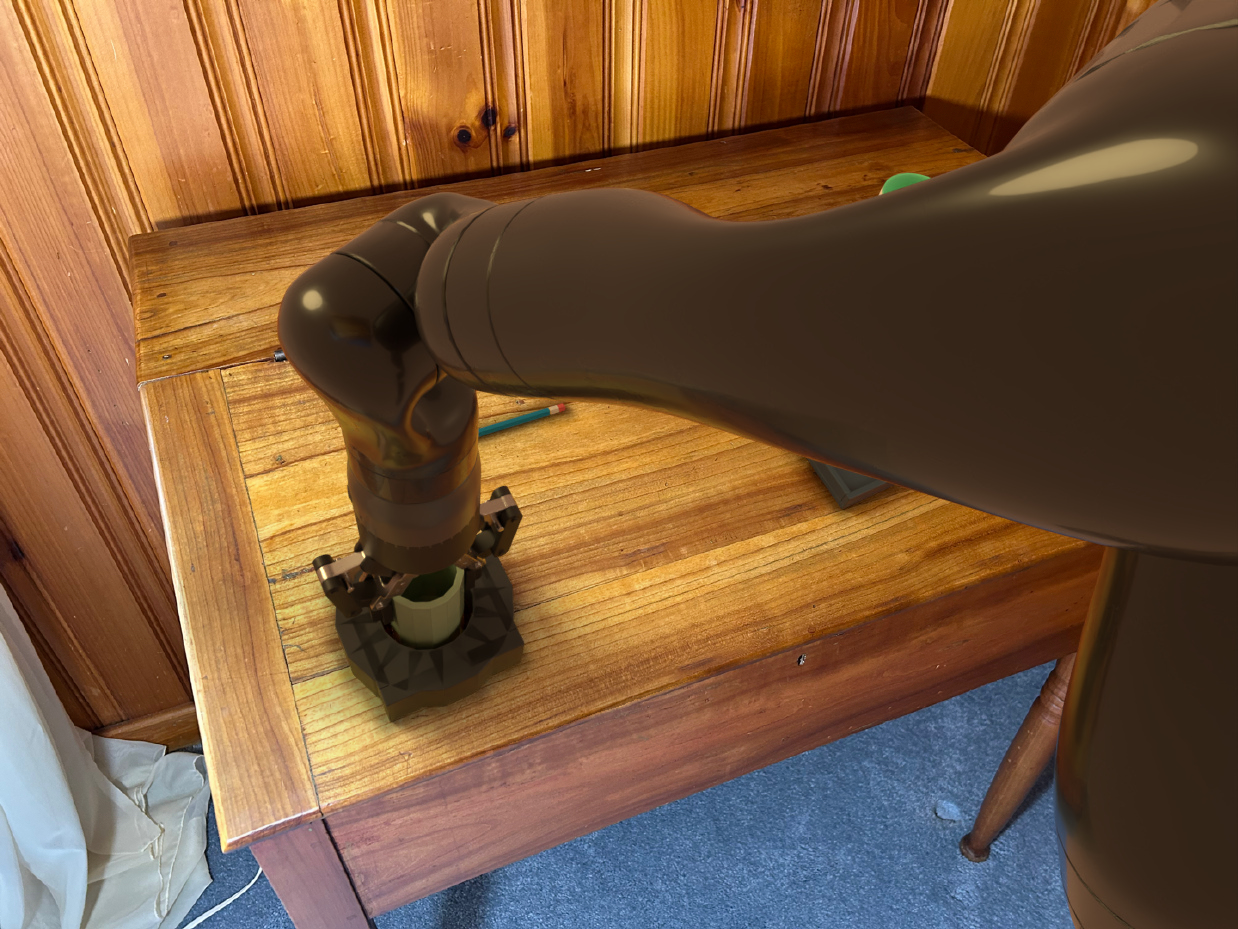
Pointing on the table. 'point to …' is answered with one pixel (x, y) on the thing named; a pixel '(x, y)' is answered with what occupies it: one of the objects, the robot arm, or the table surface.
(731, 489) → the table surface
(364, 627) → the dark brown carved ring
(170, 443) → the table surface
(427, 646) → the cup
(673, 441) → the table surface
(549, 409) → the pencil
